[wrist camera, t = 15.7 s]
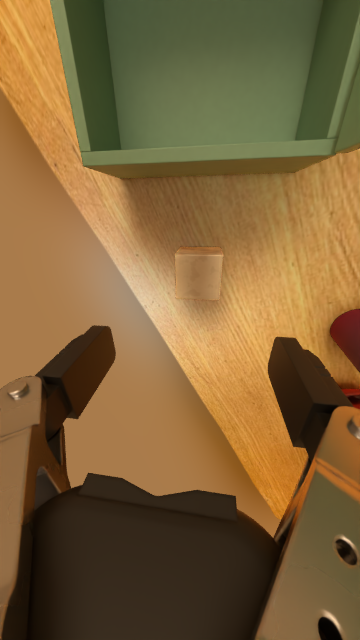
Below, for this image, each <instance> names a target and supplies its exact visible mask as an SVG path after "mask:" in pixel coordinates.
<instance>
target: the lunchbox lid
mask: <svg viewBox="0 0 360 640" xmlns="http://www.w3.org/2000/svg"><path fill="white" fill-rule="evenodd" d="M359 148H360V64H359V68H358V71H357V75H356V78H355V82H354V85H353V89H352V92H351V96H350V99H349V103H348V106H347V110H346V113H345V117H344V121H343V124H342V128H341V131H340V135H339V138H338V142H337V145H336V149H335V153H348V152H351V151H354V150H357V149H359Z"/></svg>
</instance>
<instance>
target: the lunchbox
mask: <svg viewBox="0 0 360 640" xmlns="http://www.w3.org/2000/svg"><path fill="white" fill-rule="evenodd" d="M50 3H51V8H52V13H53V18H54V23H55V28H56V33H57V38H58V43H59V48H60V53H61V58H62V63H63V68H64V73H65V78H66V83H67V88H68V93H69V98H70V103H71V108H72V113H73V118H74V123H75V128H76V133H77V138H78V143H79V148H80V152H81V157H82V162H83V166H84V167H87V168H90V169H93V170H96V171H99V172H102V173H105V174H108V175H111V176H114V177H117V178H120V179H124V178H153V177H181V176H209V175H237V174H265V173H293V172H297V171H299V170H301V169H304V168H306V167H308V166H311V165H313V164H315V163H318V162H320V161H323V160H325V159H327V158H330V157H332V156H334V155H336V153H335V149H336V145H337V142H338V138H339V135H340V131H341V128H342V124H343V121H344V117H345V113H346V110H347V106H348V103H349V99H350V96H351V92H352V89H353V85H354V82H355V78H356V75H357V71H358V68H359V64H360V0H50Z"/></svg>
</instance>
